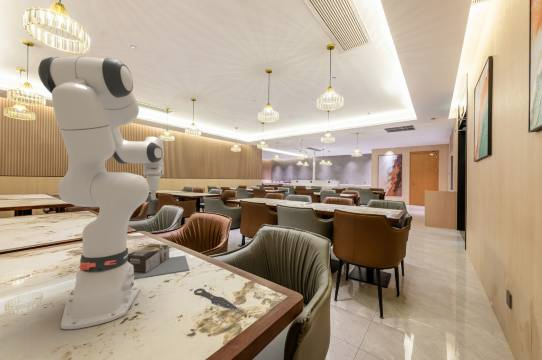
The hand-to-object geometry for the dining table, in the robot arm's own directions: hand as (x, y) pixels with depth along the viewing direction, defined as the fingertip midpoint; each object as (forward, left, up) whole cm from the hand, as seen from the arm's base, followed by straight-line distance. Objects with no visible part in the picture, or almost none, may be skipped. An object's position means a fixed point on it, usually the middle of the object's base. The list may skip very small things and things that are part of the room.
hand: (153, 199), depth 110 cm
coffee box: (-9, -3, -22) cm, 24 cm away
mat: (-20, -4, -26) cm, 33 cm away
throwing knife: (-54, -19, -26) cm, 63 cm away
